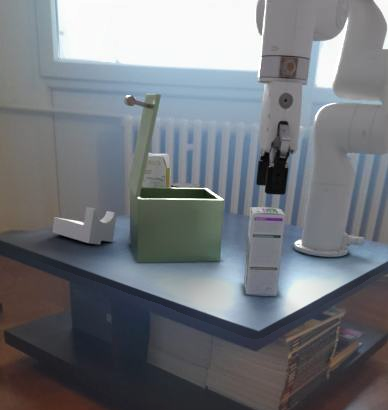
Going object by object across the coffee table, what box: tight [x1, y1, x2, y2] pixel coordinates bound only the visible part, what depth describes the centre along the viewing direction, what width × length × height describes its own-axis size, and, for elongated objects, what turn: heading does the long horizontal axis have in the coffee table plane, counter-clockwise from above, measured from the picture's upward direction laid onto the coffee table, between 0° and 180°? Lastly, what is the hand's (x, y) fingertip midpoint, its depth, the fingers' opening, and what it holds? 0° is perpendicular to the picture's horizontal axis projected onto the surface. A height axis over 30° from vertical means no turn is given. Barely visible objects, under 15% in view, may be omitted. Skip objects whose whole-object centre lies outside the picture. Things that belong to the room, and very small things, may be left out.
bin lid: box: [123, 93, 162, 197], centre depth 99 cm, size 18×15×5 cm
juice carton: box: [130, 152, 171, 188], centre depth 121 cm, size 8×9×19 cm
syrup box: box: [243, 206, 286, 297], centre depth 88 cm, size 6×6×14 cm
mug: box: [170, 182, 202, 188], centre depth 136 cm, size 11×8×10 cm
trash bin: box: [129, 187, 225, 264], centre depth 108 cm, size 18×15×13 cm
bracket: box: [51, 206, 118, 245], centre depth 117 cm, size 13×7×8 cm, turn 51°
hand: (269, 189), depth 83 cm, fingers open, 9 cm apart
